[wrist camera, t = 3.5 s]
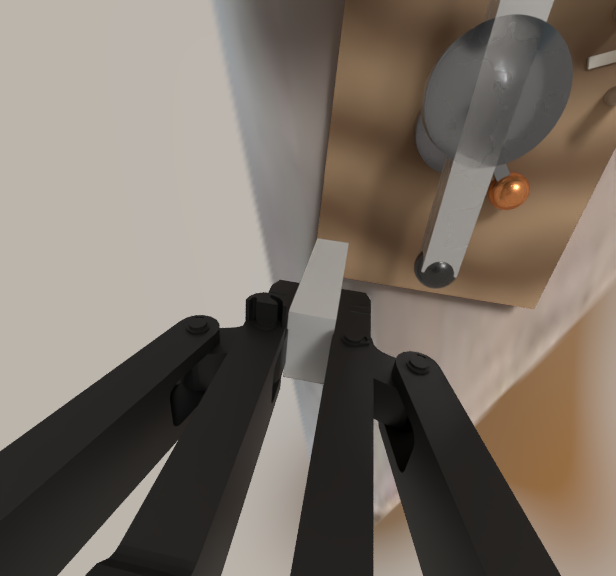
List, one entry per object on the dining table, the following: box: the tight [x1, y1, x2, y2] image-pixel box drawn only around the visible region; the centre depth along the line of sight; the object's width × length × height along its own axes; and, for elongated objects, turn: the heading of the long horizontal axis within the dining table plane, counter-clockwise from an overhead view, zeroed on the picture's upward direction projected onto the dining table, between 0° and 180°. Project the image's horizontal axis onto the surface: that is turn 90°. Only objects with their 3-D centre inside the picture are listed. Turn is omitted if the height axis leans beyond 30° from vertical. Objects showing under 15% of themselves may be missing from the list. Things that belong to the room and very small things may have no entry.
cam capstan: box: [413, 0, 573, 289], centre depth 18 cm, size 21×8×7 cm, turn 174°
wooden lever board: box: [317, 0, 616, 309], centre depth 23 cm, size 22×18×5 cm
